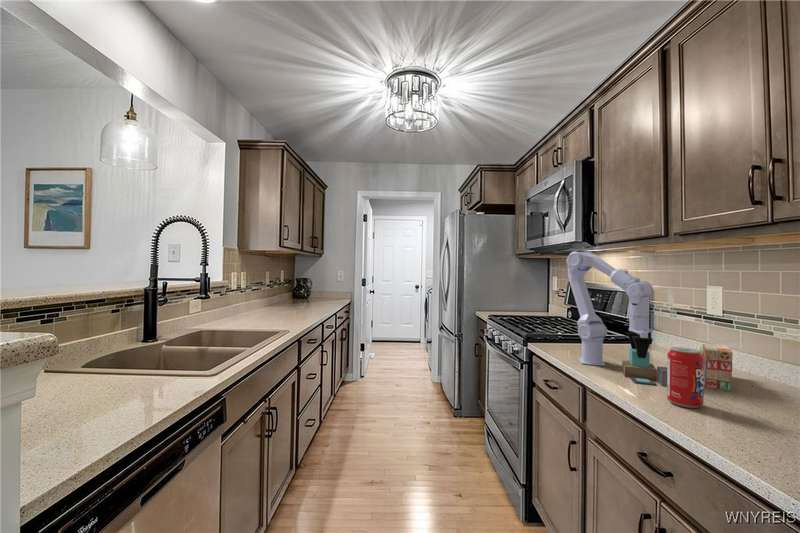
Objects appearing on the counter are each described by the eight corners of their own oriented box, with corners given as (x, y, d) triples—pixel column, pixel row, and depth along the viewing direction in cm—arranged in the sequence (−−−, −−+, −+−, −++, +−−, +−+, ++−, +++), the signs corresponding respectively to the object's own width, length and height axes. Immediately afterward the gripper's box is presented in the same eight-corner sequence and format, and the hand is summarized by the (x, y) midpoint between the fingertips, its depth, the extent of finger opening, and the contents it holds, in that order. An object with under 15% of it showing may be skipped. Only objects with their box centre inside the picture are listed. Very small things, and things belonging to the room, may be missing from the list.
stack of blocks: (699, 372, 131) (700, 338, 131) (722, 375, 127) (723, 340, 127) (705, 387, 113) (705, 348, 113) (732, 392, 110) (732, 351, 110)
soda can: (660, 398, 102) (660, 346, 103) (687, 399, 102) (688, 346, 103) (681, 409, 95) (682, 352, 95) (711, 410, 95) (712, 352, 95)
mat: (630, 378, 122) (630, 376, 122) (651, 380, 120) (651, 378, 120) (634, 383, 117) (634, 381, 117) (656, 385, 114) (656, 384, 114)
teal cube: (629, 362, 129) (629, 348, 129) (646, 364, 127) (646, 349, 127) (632, 365, 124) (632, 351, 124) (649, 367, 122) (649, 352, 122)
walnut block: (622, 371, 132) (622, 360, 132) (652, 375, 127) (652, 363, 128) (624, 378, 124) (624, 366, 124) (656, 382, 119) (656, 369, 119)
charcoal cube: (657, 381, 119) (657, 366, 119) (675, 383, 117) (675, 368, 117) (661, 386, 114) (661, 370, 114) (680, 388, 112) (681, 372, 112)
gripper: (659, 319, 117) (658, 361, 117) (647, 314, 131) (646, 352, 131) (633, 318, 120) (633, 359, 120) (624, 313, 133) (624, 350, 133)
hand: (638, 355), depth 126 cm, fingers open, 7 cm apart
